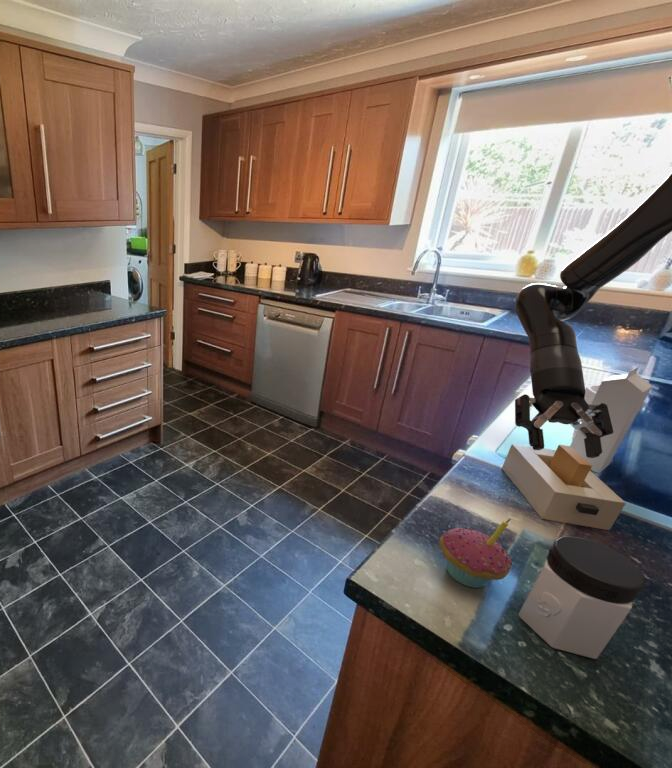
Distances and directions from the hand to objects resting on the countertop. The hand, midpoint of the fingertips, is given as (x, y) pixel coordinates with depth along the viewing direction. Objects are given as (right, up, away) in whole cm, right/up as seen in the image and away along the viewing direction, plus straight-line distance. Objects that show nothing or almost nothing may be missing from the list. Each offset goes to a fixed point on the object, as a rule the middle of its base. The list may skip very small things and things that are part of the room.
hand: (565, 453), depth 78 cm
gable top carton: (+26, -1, +21) cm, 33 cm away
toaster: (-1, -9, +3) cm, 9 cm away
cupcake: (-30, -16, -15) cm, 37 cm away
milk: (+17, -4, +13) cm, 22 cm away
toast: (-1, -8, +1) cm, 8 cm away
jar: (-23, -20, -22) cm, 37 cm away
